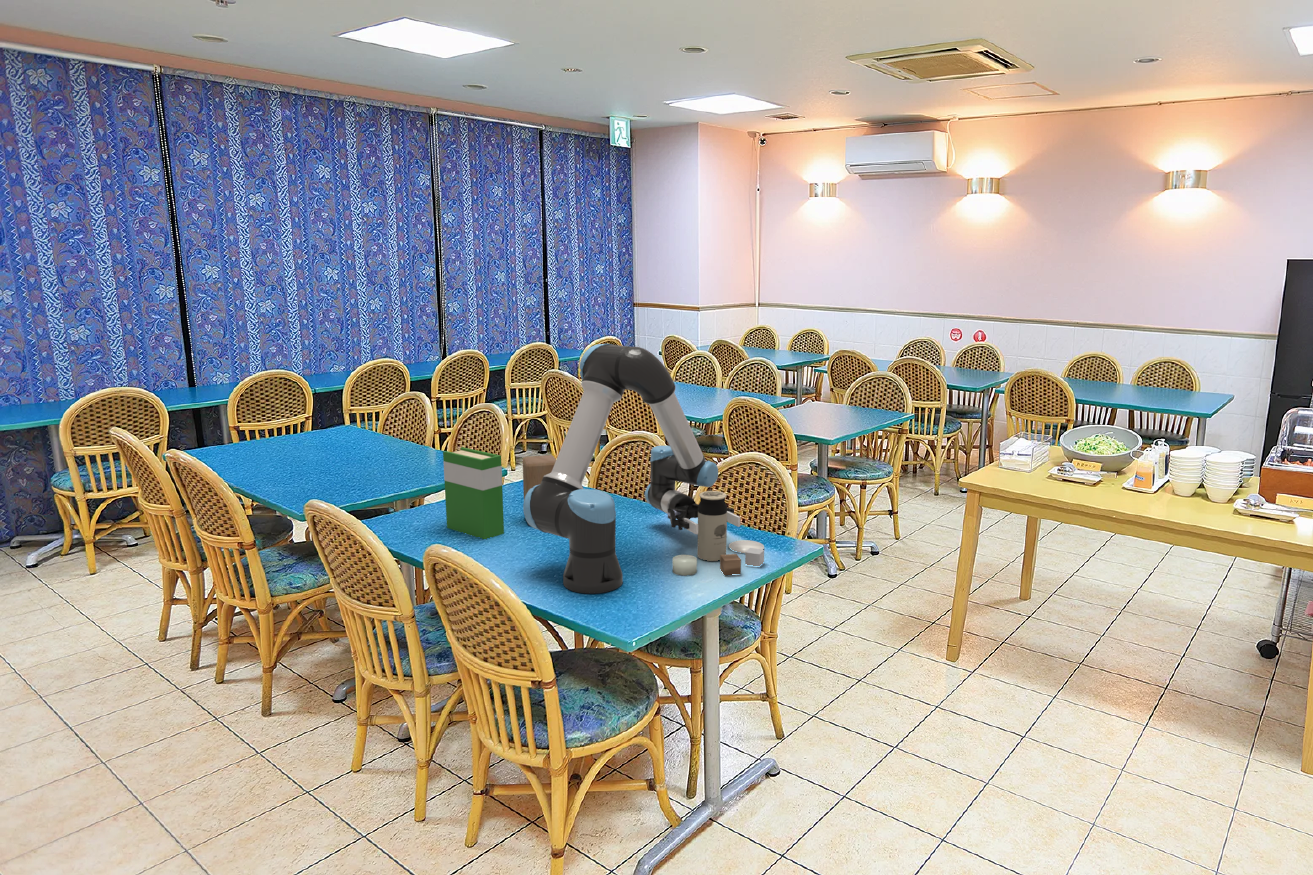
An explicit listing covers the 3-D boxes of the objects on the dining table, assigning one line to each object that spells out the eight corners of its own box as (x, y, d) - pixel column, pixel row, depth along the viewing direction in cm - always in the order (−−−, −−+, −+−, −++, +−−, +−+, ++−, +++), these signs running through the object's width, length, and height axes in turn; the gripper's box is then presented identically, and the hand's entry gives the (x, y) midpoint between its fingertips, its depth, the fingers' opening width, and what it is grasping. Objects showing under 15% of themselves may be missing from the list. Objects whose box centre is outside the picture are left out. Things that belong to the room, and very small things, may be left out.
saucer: (763, 554, 240) (763, 552, 240) (727, 552, 242) (727, 550, 242) (764, 543, 250) (764, 541, 250) (730, 541, 251) (730, 539, 251)
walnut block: (740, 575, 225) (741, 559, 224) (724, 576, 225) (724, 560, 224) (736, 569, 230) (736, 553, 229) (720, 570, 229) (720, 554, 228)
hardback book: (446, 527, 263) (442, 451, 258) (466, 522, 269) (462, 447, 264) (484, 539, 253) (481, 460, 248) (504, 533, 258) (501, 455, 253)
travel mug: (692, 554, 241) (693, 492, 237) (718, 550, 244) (719, 489, 240) (704, 563, 234) (705, 499, 230) (731, 559, 236) (732, 496, 233)
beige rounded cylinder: (695, 576, 224) (695, 563, 224) (670, 575, 225) (670, 562, 225) (698, 568, 231) (698, 555, 230) (674, 566, 232) (674, 554, 231)
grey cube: (759, 568, 230) (759, 554, 229) (745, 566, 232) (745, 552, 231) (763, 563, 234) (764, 549, 233) (749, 561, 235) (750, 547, 235)
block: (527, 526, 265) (526, 463, 260) (524, 517, 274) (522, 456, 270) (560, 524, 267) (558, 461, 263) (555, 514, 277) (553, 454, 272)
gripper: (714, 511, 259) (755, 531, 241) (641, 524, 247) (678, 546, 229) (715, 487, 257) (756, 506, 239) (641, 499, 245) (678, 519, 227)
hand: (718, 525), depth 234 cm, fingers open, 13 cm apart
